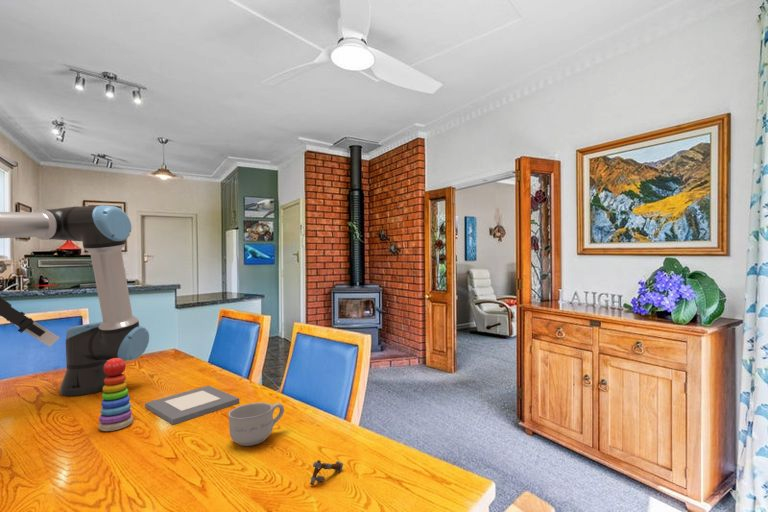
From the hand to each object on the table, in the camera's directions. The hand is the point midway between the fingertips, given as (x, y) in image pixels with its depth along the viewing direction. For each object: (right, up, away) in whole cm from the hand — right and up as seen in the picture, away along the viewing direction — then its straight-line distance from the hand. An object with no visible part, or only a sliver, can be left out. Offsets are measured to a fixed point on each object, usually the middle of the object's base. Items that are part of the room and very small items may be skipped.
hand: (48, 338), depth 98 cm
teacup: (+53, -26, 0) cm, 59 cm away
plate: (+25, -26, +23) cm, 43 cm away
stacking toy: (+11, -26, +9) cm, 30 cm away
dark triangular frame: (+74, -26, -18) cm, 80 cm away
